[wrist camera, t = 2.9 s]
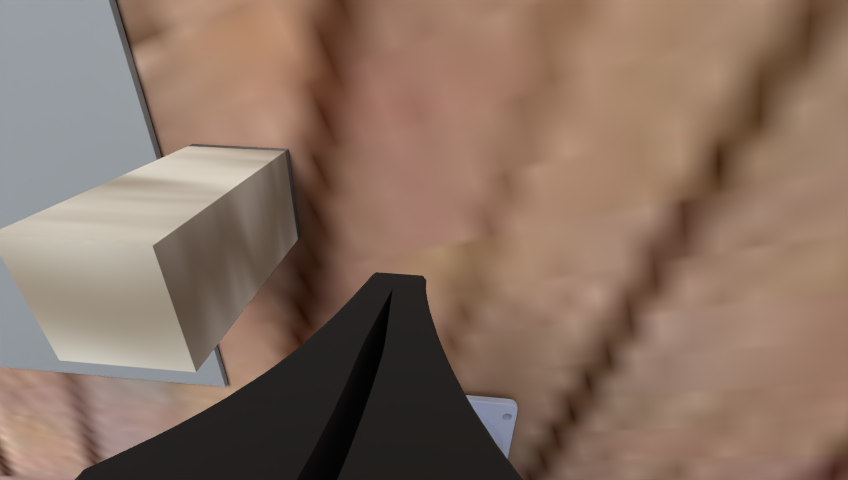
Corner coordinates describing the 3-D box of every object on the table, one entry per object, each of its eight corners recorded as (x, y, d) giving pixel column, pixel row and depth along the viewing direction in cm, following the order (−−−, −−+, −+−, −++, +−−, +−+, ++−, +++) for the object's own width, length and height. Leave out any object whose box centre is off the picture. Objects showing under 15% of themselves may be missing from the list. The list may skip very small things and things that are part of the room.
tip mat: (228, 382, 23) (225, 386, 23) (3, 362, 24) (-3, 366, 24) (56, -201, 11) (46, -206, 11) (-368, -200, 12) (-386, -205, 12)
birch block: (300, 236, 18) (196, 372, 11) (214, 230, 18) (59, 360, 11) (288, 149, 16) (152, 245, 9) (192, 144, 16) (-12, 234, 9)
